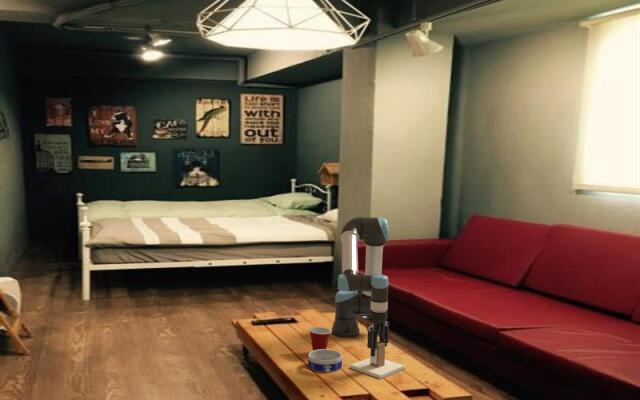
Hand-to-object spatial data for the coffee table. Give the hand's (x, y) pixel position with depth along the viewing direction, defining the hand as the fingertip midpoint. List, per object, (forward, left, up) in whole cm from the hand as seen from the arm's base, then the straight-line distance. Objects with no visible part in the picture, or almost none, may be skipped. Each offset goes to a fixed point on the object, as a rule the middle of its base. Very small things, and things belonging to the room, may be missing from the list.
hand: (377, 361), depth 258 cm
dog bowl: (+15, -18, -4) cm, 24 cm away
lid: (0, 0, -3) cm, 3 cm away
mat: (0, 0, -4) cm, 4 cm away
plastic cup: (+4, -32, -4) cm, 32 cm away
